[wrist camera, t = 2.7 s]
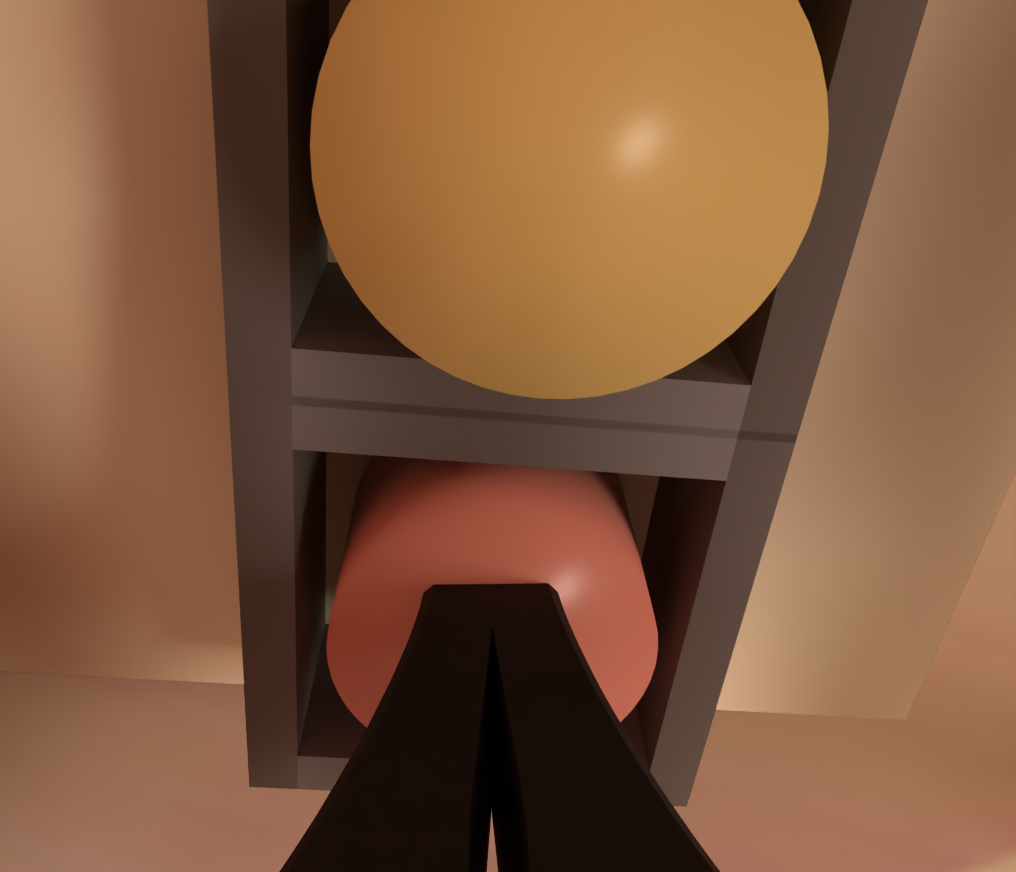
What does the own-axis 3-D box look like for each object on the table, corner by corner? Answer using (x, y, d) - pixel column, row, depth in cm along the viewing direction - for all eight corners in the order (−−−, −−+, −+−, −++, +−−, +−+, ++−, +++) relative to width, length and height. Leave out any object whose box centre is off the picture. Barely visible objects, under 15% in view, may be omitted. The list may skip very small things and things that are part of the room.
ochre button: (782, -95, 8) (898, -94, 6) (696, 301, 10) (759, 415, 7) (357, -147, 8) (307, -167, 5) (349, 270, 9) (310, 380, 7)
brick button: (647, 414, 11) (688, 533, 9) (603, 633, 13) (628, 776, 11) (357, 391, 11) (326, 508, 9) (350, 618, 13) (325, 762, 11)
